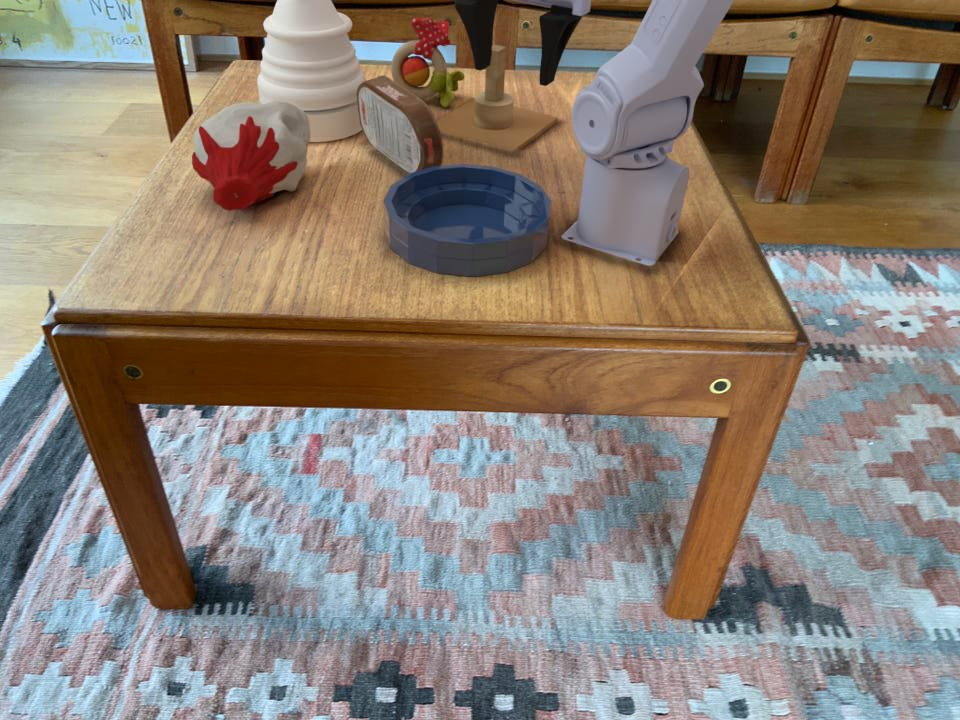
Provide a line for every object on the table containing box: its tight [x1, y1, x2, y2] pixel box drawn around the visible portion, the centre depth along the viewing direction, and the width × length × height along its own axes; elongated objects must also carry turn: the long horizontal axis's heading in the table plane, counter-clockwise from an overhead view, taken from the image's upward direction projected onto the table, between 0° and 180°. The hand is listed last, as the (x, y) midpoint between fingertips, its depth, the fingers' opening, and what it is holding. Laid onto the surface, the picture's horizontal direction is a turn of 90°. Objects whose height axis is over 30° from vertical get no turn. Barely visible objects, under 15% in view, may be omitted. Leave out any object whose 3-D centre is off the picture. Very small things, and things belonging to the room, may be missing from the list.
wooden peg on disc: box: [473, 44, 515, 130], centre depth 94 cm, size 5×5×9 cm
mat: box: [436, 98, 558, 152], centre depth 97 cm, size 12×12×1 cm
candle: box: [191, 101, 311, 212], centre depth 79 cm, size 9×11×15 cm
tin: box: [356, 75, 444, 174], centre depth 86 cm, size 15×3×8 cm, turn 34°
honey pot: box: [256, 0, 367, 143], centre depth 91 cm, size 13×13×18 cm
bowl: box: [382, 163, 552, 278], centre depth 75 cm, size 16×16×4 cm
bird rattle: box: [390, 16, 465, 109], centre depth 100 cm, size 6×11×9 cm
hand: (514, 75), depth 82 cm, fingers open, 7 cm apart
